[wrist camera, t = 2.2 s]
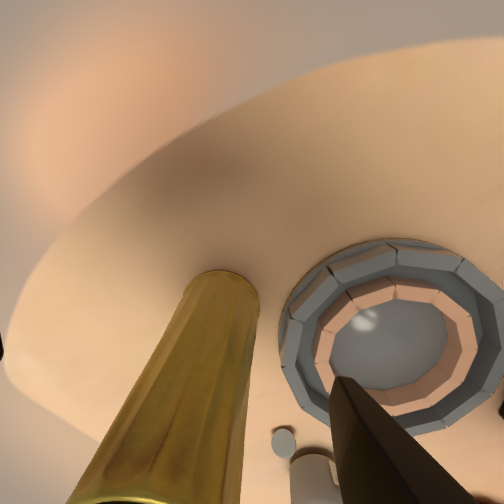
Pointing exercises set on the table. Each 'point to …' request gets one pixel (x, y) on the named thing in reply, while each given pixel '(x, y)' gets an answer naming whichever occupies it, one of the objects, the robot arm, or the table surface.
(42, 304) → the table surface
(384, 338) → the grooved tray
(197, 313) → the vase
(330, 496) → the reed diffuser
